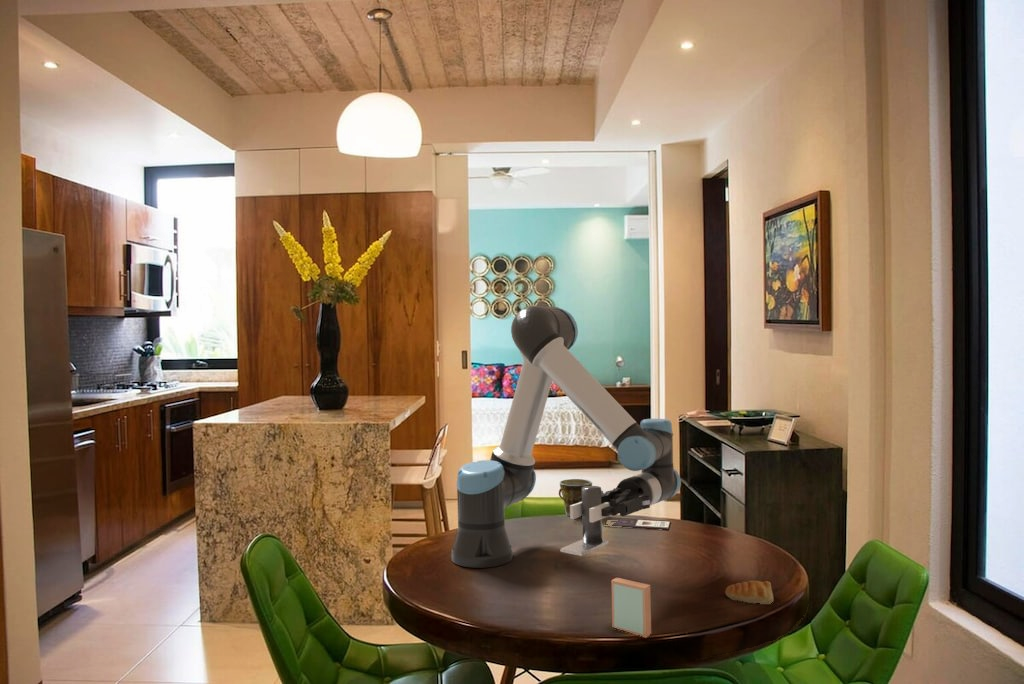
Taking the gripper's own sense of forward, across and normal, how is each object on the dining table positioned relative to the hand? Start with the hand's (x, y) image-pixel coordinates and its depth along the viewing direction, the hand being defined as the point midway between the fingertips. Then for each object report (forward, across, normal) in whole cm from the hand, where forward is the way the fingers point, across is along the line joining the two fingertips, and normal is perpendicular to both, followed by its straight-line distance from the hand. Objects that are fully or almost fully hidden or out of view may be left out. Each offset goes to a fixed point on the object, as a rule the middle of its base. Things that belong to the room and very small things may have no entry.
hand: (581, 513), depth 141 cm
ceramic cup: (-60, +43, -19) cm, 76 cm away
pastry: (-25, -25, -20) cm, 40 cm away
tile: (+4, -13, -19) cm, 24 cm away
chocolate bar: (-62, +22, -20) cm, 68 cm away
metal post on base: (-1, 0, -7) cm, 7 cm away
